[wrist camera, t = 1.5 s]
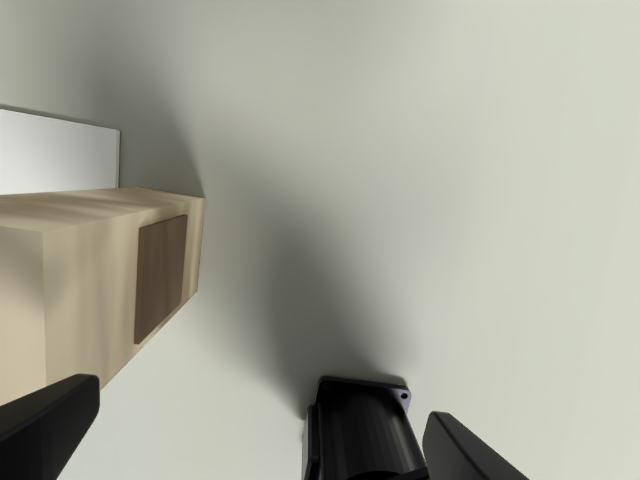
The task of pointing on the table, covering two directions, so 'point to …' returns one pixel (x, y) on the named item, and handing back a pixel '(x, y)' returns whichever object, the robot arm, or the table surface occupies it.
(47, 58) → the table surface
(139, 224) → the birch block
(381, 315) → the table surface
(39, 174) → the mat
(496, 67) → the table surface
